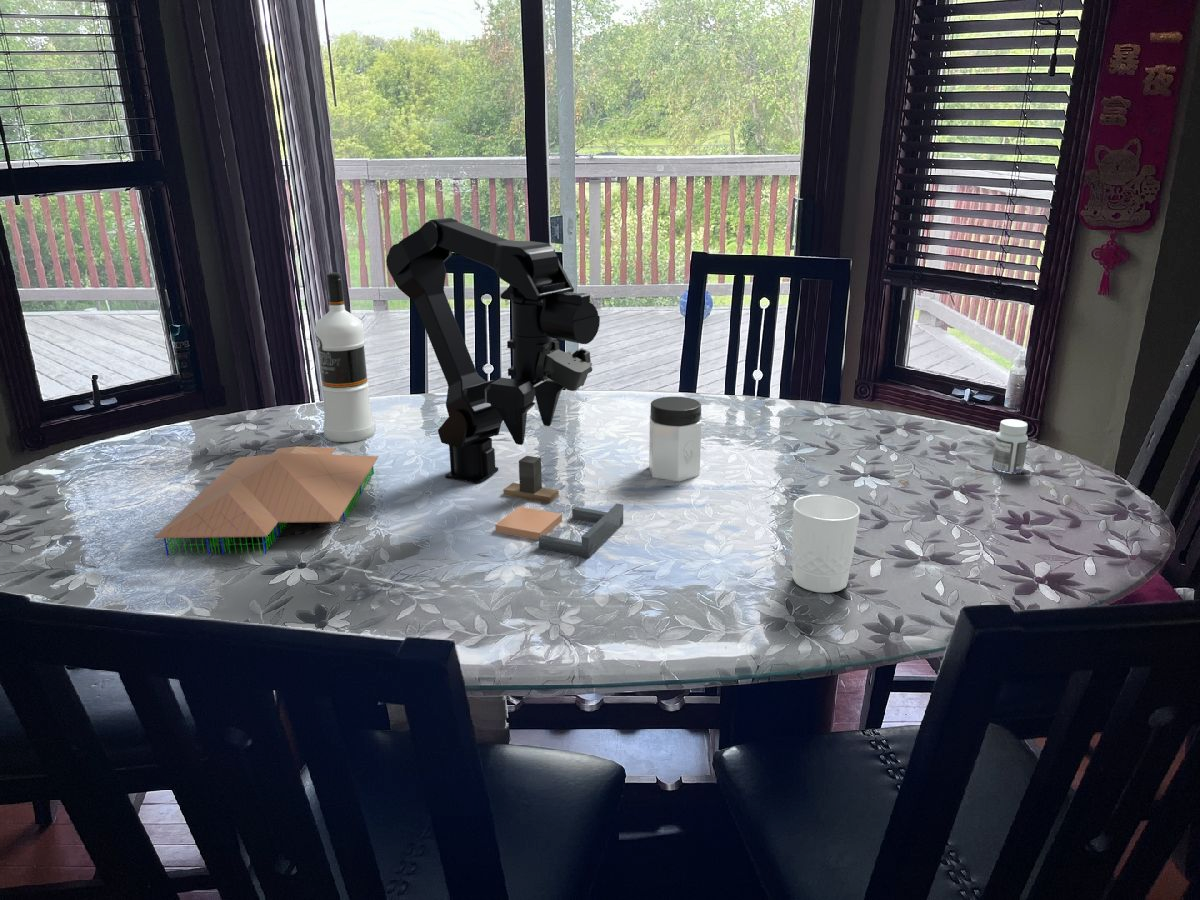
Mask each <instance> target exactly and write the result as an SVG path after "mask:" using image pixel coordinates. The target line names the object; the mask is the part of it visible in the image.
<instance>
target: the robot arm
mask: <svg viewBox="0 0 1200 900" xmlns="http://www.w3.org/2000/svg"><path fill="white" fill-rule="evenodd" d="M453 254H456V255H459V256H461V257H464V258H467V259H468V260H469V259H470V260H472V261H473V262H477V263H479V264H482V265H484V266H487V267H489V268H491V269H492V270H494V271H495V274H496V275H497V277H498V278H499V279H500V280H502V281H504V282H505V283H507V284H509V286H508V287H507V288H506V289H505V290H504V291H502V292H501V293H500V299H502V300H507V301H511V316H512V317H511V319H512V320H511V321H512V326H511V327H512V339H509V340H507V341H506V342H507V343H506V345H507V346H506V348H507V349H511V350H512V363H513V365H512V366H511V367H509V368H507V376H508V377H500V378H498V379H496V380H494V379H490V380H488V381H486V380H485V379H484V378H483V377H482V376H480V375H479V373H478V372H477V369H476V366H475V364H474V362H473V360H472V359H473V358H472V356H471V354H470V352H469V349H468V347H467V345H466V342H465V339H464V337H463V335H462V333H461V330H460V328H459V325H458V323H457V322H458V321H457V320H456V317H455V315H454V312H453V310H452V307H451V305H450V303H449V300H448V297H447V296H446V293H445V290H444V289H445V283H446V277H447V276H446V275H447V270H446V267H445V262H446V261H448V259H449V258H450V257H452V255H453ZM385 262H386V267H387V270H388V272H389V274H390V276H391V278H392V280H393V281H394V283H395V285H396V287H397V289H399V290H400V291H401V292H403V294H404V295H405V296H407V297H408V298H409V299H410V300H412V302H413V303H414V305H415V307H416V310H417V312H418V315H419V317H420V319H421V322H422V325H423V327H424V329H425V332H426V335H427V337H428V338H429V342H430V344H431V346H432V349H433V351H434V354H435V356H436V359H437V361H438V363H439V366H440V368H441V369H440V370H441V371H442V373H443V376H444V379H445V382H446V383H447V393H446V394H447V395H446V401H445V407H446V410H447V414H448V417H447V418H446V420H445V421H444V422H443V423H442V425H441V426H440V427H439V428H438V429H437V434H438V436H439V439H440V443H442V444H444V445H448V447H449V448H448V450H449V464H450V465H449V466H450V471H449V472H447V473H446V474H445V478H446V479H451V480H455V481H457V480H458V481H464V482H468V483H475V484H480V483H483V482H484V481H485V480H486V479H488V478H490V477H491V476H493V475H494V474H496V473H497V472H498V471H499V467H497V466H496V449H495V448H494V447H493V439H492V437H494V436H499V434H500V430H501V426H502V423H503V422H504V424H505V426H506V428H507V430H508V432H509V434H510V436H511V438H512V439H513V442H514V443H515V444H516V445H518V446H522V445H523V444H524V442H525V438H526V429H527V428H526V427H527V425H526V424H527V415H528V412H529V411H530V410H531V409H532V408H533V407H534V406H535V405H536V404H537V408H538V411H539V416H540V418H541V422H542V424H543V426H544V427H550V426H551V425H552V423H553V418H554V415H555V411H556V408H557V404H558V402H559V399H560V396H561V392H562V391H563V390H564V389H565V390H567V391H570V392H571V391H572V392H575V391H577V390H578V388H580V387H583V386H584V385H585V382H586V380H587V378H588V375H589V374H590V373H592V371H593V367H592V365H593V363H592V362H591V353H590V350H587V349H585V348H583V347H580V348H579V349H577V350H576V351H575V352H573V353H572V352H571V351H567V352H566V351H563V350H561V349H560V341H565V342H571V343H576V344H580V345H588V344H590V343H591V342H592V341H594V339H595V337H596V336H597V334H598V331H599V328H600V323H601V320H600V319H601V316H600V315H599V313H598V312H599V311H598V309H597V307H596V306H595V305H594V304H593V303H592V302H591V295H590V293H585V292H580V293H577V292H574V291H575V288H574V287H573V284H572V283H571V280H570V279H569V277H568V275H567V273H566V271H565V269H564V267H563V266H562V264H561V262H560V260H559V258H558V255H557V253H556V249H555V248H554V247H553V245H551V244H550V243H547V242H540V241H532V240H512V239H511V240H510V239H507V238H503V237H501V236H498V235H495V234H492V233H490V232H487V231H484V230H481V229H480V228H479V229H478V228H476V227H473V226H471V225H467V224H465V223H461V222H459V221H458V220H457V219H456V218H455V219H454V218H453V217H445V218H444V217H443V218H442V217H441V218H433V219H429V220H428V221H426V222H425V223H424V224H422V226H421V227H420V228H419V229H418V230H417V229H416V231H414V232H412V233H411V234H409V235H408V236H406V237H405V238H403V239H401V240H400V241H399V242H398V243H395V244H392V245H391V247H390V248H389V250H388V253H387V256H386V260H385ZM559 340H560V341H559ZM509 377H515V378H509ZM534 400H535V401H536V402H534Z"/></svg>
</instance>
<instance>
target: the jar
mask: <svg viewBox="0 0 1200 900" xmlns="http://www.w3.org/2000/svg"><path fill="white" fill-rule="evenodd" d="M701 415H702V404H701V402H700V401H698V400H697V399H694V398H690V397H684V396H663V397H658V398H656V399H653V400H652V401H651V402H650V415H649V445H648V447H649V450H648V454H649V455H648V456H649V457H648V468H649V471H650V474H651V477H652V478H656V479H662V480H668V481H672V482H681V481H684V480H685V481H686V480H688V479H693V478H696V477H699V476H700V473H701V471H700V470H701V448H702V446H701V445H702V444H701V443H702V442H701V441H702V421H701V417H702V416H701Z"/></svg>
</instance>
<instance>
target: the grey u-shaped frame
mask: <svg viewBox="0 0 1200 900" xmlns="http://www.w3.org/2000/svg"><path fill="white" fill-rule="evenodd" d="M571 514H572V515H571V518H572V520H578V521H584V522H588V523H589V522H590V523H594V524H593V525H592V526H591V527H590V528H588V530H586V532H585V533H584V534H582V536H581V541H576V540H570V539H565V538H561V537H554V536H549V535H546V536H545V535H541V536H540V537H539V540H538V549H543V550H548V551H552V552H556V553H557V552H558V553H563V554H568V555H573V556H578V557H581V558H582V559H583V558H584V559H588V560H589V559H590V558H591V557H592V556H593V555H594V554H595V553H596V552H597V551H598V550H599V549H600V548H601V547H602V546H603V545H604V544H605V543H606V542H607V541H608V540H610V538H611V537H612V536H613V535H614V534H615V533H616V532H617V531H618V530H619V529H620V528H621V527H622V526H623V525H624V504H623V503H615V505H613V506H612V507H611V508H610V509H609V510H608V511H603V510H599V509H598V510H596V509H590V508H585V507H580V506H574V507H573V508H572V509H571Z"/></svg>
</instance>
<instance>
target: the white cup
mask: <svg viewBox="0 0 1200 900" xmlns="http://www.w3.org/2000/svg"><path fill="white" fill-rule="evenodd" d="M860 513H861V508H860V507H859V505H858V504H856V503H855V502H853V501H851V500H849V499H847V498H843V497H841V496H836V495H830V494H810V495H804V496H800V497H799V498H797V499H795V500H794V501H793V505H792V532H791V533H792V535H791V537H792V539H791V542H792V543H791V544H792V548H791V550H792V552H791V555H792V570H791V571H792V572H791V573H792V579H793V581H794V583H795V584H796V585H797V586H799V587H801V588H803V589H804V590H807V591H811V592H815V593H823V594H825V593H826V594H830V593H835V592H839V591H842V590H844V589H845V588H847V586H848V582H849V575H850V570H851V566H852V564H853V557H854V552H855V547H856V541H857V534H858V527H859V520H860V515H861V514H860Z"/></svg>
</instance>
